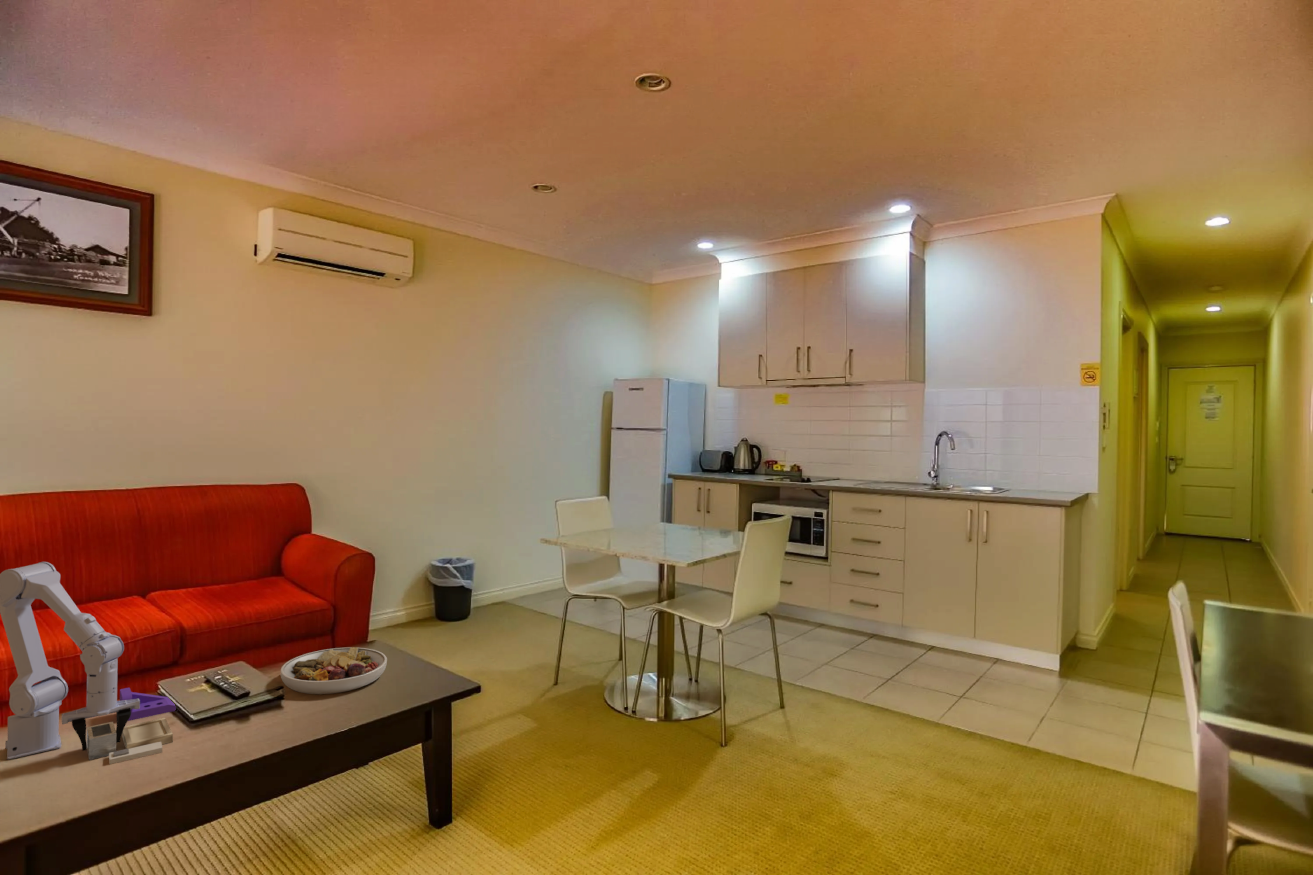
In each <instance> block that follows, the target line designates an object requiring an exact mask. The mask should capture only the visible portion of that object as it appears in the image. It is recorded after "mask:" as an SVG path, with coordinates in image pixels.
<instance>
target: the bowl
mask: <svg viewBox="0 0 1313 875" xmlns="http://www.w3.org/2000/svg"><path fill="white" fill-rule="evenodd" d="M387 662H388V658H387V656H386V655H385V654H384V653H383V652H381V651H379V650H376V649H373V648H365V647H356V646H355V647H354V646H353V647H335V648H327V649H321V650H317V651H315V650H314V651H312V652H307V653H303V654H302V655H299V656H296V657H293V658H291V659H290V660H288V661H286V662H285V663H284V664H283V665H281V668H280V678H281V680H282V682H283V684H284V685H285V686H286V687H287V688H289V690H292V691H295V692H297V693H302V694H303V693H304V694H309V695H329V694H338V693H346V692H350V691H353V690H356V689H359V688H363V687H365V686H368V685H369V684H371V683H373V682H375V681H376V680H378V679H379V678H380V677H381V676H382V674H383V673H384V672H385V670H386V667H387V664H388V663H387Z"/></svg>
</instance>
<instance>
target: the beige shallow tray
mask: <svg viewBox="0 0 1313 875" xmlns="http://www.w3.org/2000/svg"><path fill="white" fill-rule="evenodd" d="M173 738H174V734H173V731H172V730H171V727H170V725H169V723H168V721H167V718H166V717H162V718H160V717H159V718H156V719H152V720H147V721H142V722H138V723H133V724H129V725H125V727H124V729H123V732H122V735H121V739H122V740H123V743H124V747H125V749H129V748H134V747H138V746H143V745H147V744H152V743H156V742H161V743H162V745H166V744H171V743H173V740H174V739H173Z"/></svg>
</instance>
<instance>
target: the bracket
mask: <svg viewBox="0 0 1313 875" xmlns="http://www.w3.org/2000/svg"><path fill="white" fill-rule="evenodd" d="M168 697H169V696H163V695H155V694H148V693H141V692H135V691H134V692H133V691H132V690H131V688H130V687H125V688H121V689H119V701H123V700H132V699H138V698H139V700H140V708H139V709H131V716H130V718H129V719H128V721H127V722H129V721H135V720H140V719H143V718H148V717H153V716H157V715H163V714H166V713H171V712H176V711H175V710H176V706H175V704H174V703H173V702H172V701H171V700H170V699H169V698H168Z"/></svg>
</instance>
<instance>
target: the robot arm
mask: <svg viewBox="0 0 1313 875" xmlns="http://www.w3.org/2000/svg"><path fill="white" fill-rule="evenodd" d="M35 600H41V601H43V603H44V604H46V605H47V606H48V607H49V609H51V610H52V612H54V613H55V614H56V615H57V616H58V617H59V618H60V619H61V620H62V621H63V622H65V623H64V627H63V632H65V633H66V635H67V636H68V637H69V638H70V639H71V640H72V641H73V642H74V644H75V645H76V646H77V647H78V648H79V649H80V651H81V652H82V653H81V654H79V659H80V661H81V663H82V664H83V665H84V672H85V673H86V706H85V707H82V708H79V709H74V710H72V711H71V710H70V711H68V712H63V713H61V725H67V724H69V723H71V727H72V728H73V730H74V731H75V733H76V735H77V736H78V738H79V741H80V744H81V749H82V751H87V720H86V719H91V718H95V717H96V718H97V717H102V716H107V715H111V714H116V716H115V717H116V727H115V730H116V744H118V743H121V739H122V732H123V729H124V727H125V726H127V723H128V722H129V721H128V719H129V718H130V716H131V709H139V708H140V700H139V698H138V699H132V700H123V701H120V700H118V670H119V669H118V665H119V664H118V663H119V662H118V659H119V657H121V656H122V655H123V653H124V651H125V645H124V644H125V643H124V642H123V640H122V638H121V637H120V636H118V635H116V634H111V633H110V632H107V631H105V629H104V628H103V627H102V626H101V624H99V622H98V621H97V619H96V617H95V616H93V615H92V613H86V612H82V611H80V609H79V607H78V606H77V605H76V603H75V602H74V601H73V599H72V598H71V596H70V595H69V594H68V592H67V590H65V588H64V586H63V585H62V584H61V573H60V572H59V571H57V569H56V567H55V565H54V564H52V563H50V562H48V561H41V562H38V563H33V564H29V565H25V566H20V567H16V568H8V569H5V570H3V571H2V572H1V573H0V618H1V621H2V624H3V627H4V631H5V634H6V638H7V641H8V644H9V648H10V653H11V655H12V659H13V662H14V667H15V668H16V673H17V677H16V679H14V681H13V682H12V683H11V685H10V686H9V688H8V691H9V700H8V701H9V702H8V705H9V708H10V710H11V712H12V713H13V715H10V716H7V740H5V750H6V751H7V752H6V755H7V756H6V759H7V760H13V759H16V758H17V759H18V758H22V757H26V756H29V755H34V754H38V753H43V752H48V751H53V750H56V749H60V748H62V741H61V735H60V734H59V731H60V727H59V726H60V725H59V724H60V706H61V705H62V703H63V702H62V701H63V700H64V699H65V698H66V697H67V696H68V692H69V687H68V683H67V682H66V680H65V679H64V678H63V676H62V674H61V672H60V670H59V669H56V668H54V667H52V666H51V667H50V666H49V664H48V661H47V658H46V655H45V651H44V647H43V644H42V643H43V642H42V640H41V636H40V633H39V630H38V626H37V623H36V619H35V615H34V612H33V609H32V606H31V605H32V603H33V602H34V601H35Z"/></svg>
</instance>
